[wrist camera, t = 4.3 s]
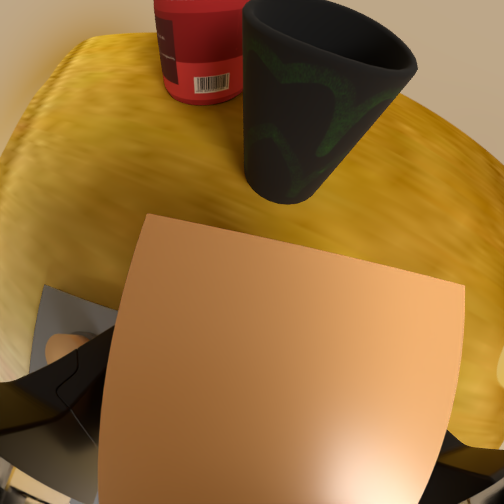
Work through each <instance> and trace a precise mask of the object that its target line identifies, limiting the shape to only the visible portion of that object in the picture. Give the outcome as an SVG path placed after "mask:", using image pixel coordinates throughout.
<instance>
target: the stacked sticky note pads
mask: <svg viewBox="0 0 504 504" xmlns="http://www.w3.org/2000/svg"><path fill="white" fill-rule="evenodd" d="M464 315H465V286H464V285H460V284H456V283H453V282H449V281H445V280H441V279H437V278H433V277H429V276H425V275H421V274H417V273H413V272H409V271H405V270H401V269H397V268H393V267H389V266H385V265H381V264H377V263H372V262H368V261H364V260H360V259H356V258H351V257H347V256H343V255H339V254H334V253H330V252H326V251H321V250H317V249H313V248H308V247H304V246H299V245H295V244H291V243H286V242H282V241H277V240H273V239H268V238H264V237H259V236H254V235H250V234H245V233H241V232H236V231H231V230H227V229H222V228H217V227H212V226H208V225H203V224H198V223H193V222H188V221H184V220H179V219H174V218H169V217H164V216H159V215H154V214H149V213H147V215H146V218H145V221H144V224H143V227H142V230H141V233H140V236H139V239H138V242H137V245H136V248H135V251H134V255H133V258H132V261H131V265H130V268H129V272H128V275H127V279H126V282H125V286H124V290H123V294H122V298H121V302H120V306H119V310H118V314H117V318H116V323H115V328H114V332H113V337H112V342H111V347H110V353H109V358H108V364H107V370H106V377H105V384H104V391H103V399H102V408H101V418H100V431H99V448H98V498H99V504H418V502H419V500H420V498H421V496H422V494H423V492H424V490H425V487H426V485H427V483H428V481H429V478H430V476H431V473H432V471H433V468H434V466H435V463H436V460H437V458H438V455H439V452H440V449H441V446H442V443H443V440H444V436H445V433H446V430H447V426H448V422H449V419H450V415H451V411H452V406H453V402H454V397H455V392H456V387H457V382H458V376H459V369H460V362H461V354H462V345H463V333H464Z"/></svg>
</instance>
